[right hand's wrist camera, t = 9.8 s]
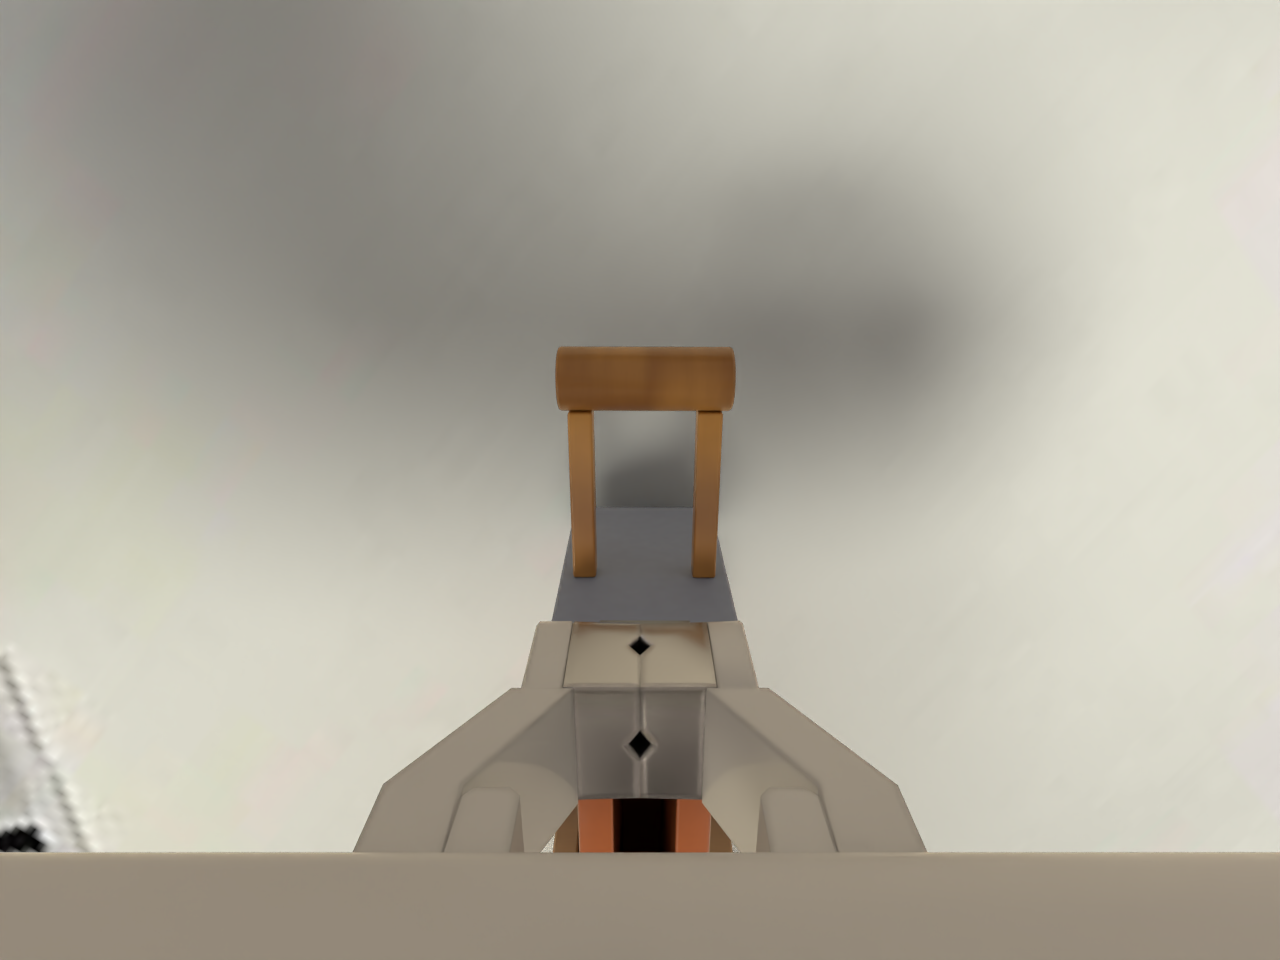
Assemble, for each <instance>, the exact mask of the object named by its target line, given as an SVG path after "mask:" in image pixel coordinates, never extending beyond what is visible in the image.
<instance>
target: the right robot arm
mask: <svg viewBox="0 0 1280 960" xmlns="http://www.w3.org/2000/svg"><path fill="white" fill-rule="evenodd" d="M622 798H656V799H692V800H702V803H703V805H704V806H705V807H706V809H707V810H708V811H709V813H710V814H711V815H712V816H713V818H714V819H715V820H716V822H717V823H718V824H719V826H720V827H721V828H722V829H723V831H724V832H725V833H726V835H727V836H728V837H729V839H730V840H731V841H732V842H733V844H734V845H735V846H736V848H737V849H738V850H739V852H699V853H540V852H541V851H542V849H543V848H544V847H545V846H546V844H547V843H548V842H549V840H550V839H551V838H552V837H553V835H554V834H555V833H556V831H557V830H558V829H559V827H560V826H561V825H562V824H563V822H564V821H565V820H566V818H567V817H568V816H569V814H570V813H571V812H572V811H573V809H574V808H575V807H576V805H577V804H578V800H587V799H622ZM0 960H1280V852H927V850H926V848H925V846H924V844H923V841H922V839H921V837H920V835H919V832H918V830H917V828H916V826H915V823H914V821H913V819H912V817H911V814H910V812H909V810H908V807H907V805H906V803H905V801H904V798H903V796H902V794H901V792H900V789H899V787H898V785H897V784H895V783H894V782H893V781H891V780H890V779H889V778H887V777H886V776H885V775H883V774H882V773H881V772H879V771H878V770H877V769H875V768H874V767H873V766H871V765H870V764H869V763H867V762H866V761H865V760H863V759H862V758H861V757H859V756H858V755H857V754H855V753H854V752H853V751H851V750H850V749H849V748H847V747H846V746H845V745H844V744H842V743H841V742H840V741H838V740H837V739H836V738H834V737H833V736H832V735H830V734H829V733H828V732H826V731H825V730H824V729H822V728H821V727H820V726H818V725H817V724H816V723H814V722H813V721H812V720H810V719H809V718H808V717H806V716H805V715H804V714H802V713H801V712H800V711H798V710H797V709H796V708H794V707H793V706H792V705H790V704H789V703H788V702H786V701H785V700H784V699H782V698H781V697H780V696H778V695H777V694H776V693H774V692H773V691H772V690H770V689H769V688H759V687H758V683H757V679H756V675H755V671H754V667H753V663H752V659H751V655H750V651H749V647H748V643H747V639H746V635H745V631H744V627H743V624H742V623H741V622H740V621H719V622H692V623H652V624H640V623H628V622H578V621H574V623H573V622H572V621H540V622H539V624H538V625H537V626H536V630H535V634H534V638H533V642H532V646H531V650H530V654H529V658H528V662H527V666H526V670H525V675H524V679H523V683H522V687H521V688H511V689H510V690H508V691H507V692H506V693H504V694H503V695H502V696H500V697H499V698H498V699H496V700H495V701H494V702H492V703H491V704H490V705H488V706H487V707H486V708H484V709H483V710H482V711H480V712H479V713H478V714H476V715H475V716H474V717H472V718H471V719H470V720H468V721H467V722H466V723H464V724H463V725H462V726H460V727H459V728H458V729H456V730H455V731H454V732H452V733H451V734H450V735H448V736H447V737H446V738H444V739H443V740H442V741H440V742H439V743H438V744H436V745H435V746H433V747H432V748H431V749H429V750H428V751H427V752H425V753H424V754H423V755H421V756H420V757H419V758H417V759H416V760H415V761H413V762H412V763H411V764H409V765H408V766H407V767H405V768H404V769H403V770H401V771H400V772H399V773H397V774H396V775H395V776H393V777H392V778H391V779H389V780H388V781H387V782H385V783H384V784H383V786H382V788H381V790H380V792H379V795H378V797H377V799H376V801H375V804H374V806H373V808H372V810H371V812H370V815H369V817H368V819H367V821H366V824H365V826H364V828H363V830H362V833H361V835H360V837H359V839H358V841H357V844H356V846H355V848H354V850H353V852H169V853H75V852H0Z"/></svg>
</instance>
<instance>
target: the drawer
mask: <svg viewBox="0 0 1280 960" xmlns="http://www.w3.org/2000/svg"><path fill="white" fill-rule="evenodd" d="M555 382H556V398H557V404H558V407H559V409H560V410H564V411H569V412H568V443H569V472H570V500H571V532H570V536H569V541H568V546H567V551H566V555H565V560H564V565H563V570H562V575H561V579H560V584H559V589H558V594H557V598H556V603H555V608H554V613H553V618H552V621H572V622H573V623H574V621H578V622H628V623H640V624H652V623H692V622H719V621H738V620H737V616H736V612H735V608H734V603H733V599H732V595H731V591H730V586H729V582H728V578H727V574H726V570H725V565H724V561H723V557H722V553H721V548H720V544H719V540H718V536H717V530H718V509H719V488H720V466H721V445H722V424H723V414H722V411H729V410H731V409H732V406H733V403H734V397H735V383H736V366H735V355H734V351H733V349H732V348H731V347H559V348H558V350H557V355H556V369H555ZM594 411H696V431H695V461H694V492H693V507H596V489H595V442H594ZM578 829H579V853H699V852H709V848H710V829H711V814H710V813H709V811H708V810H707V809H706V807H705V806H704V805H703V803H702V800H692V799H656V798H622V799H587V800H578Z"/></svg>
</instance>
